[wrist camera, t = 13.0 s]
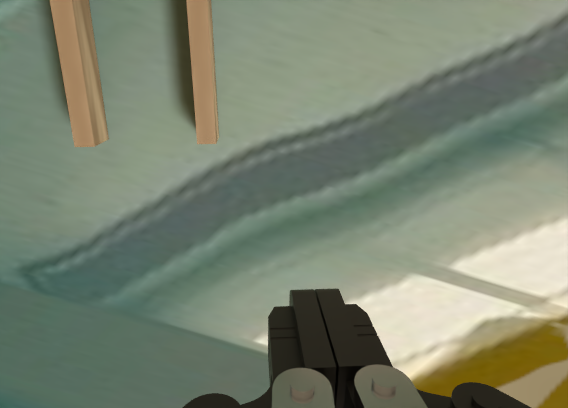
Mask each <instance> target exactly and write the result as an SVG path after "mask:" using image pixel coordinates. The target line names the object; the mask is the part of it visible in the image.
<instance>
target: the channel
mask: <svg viewBox="0 0 568 408" xmlns="http://www.w3.org/2000/svg"><path fill="white" fill-rule="evenodd" d="M186 1H187V15H188V28H189V41H190V54H191V67H192V80H193V94H194V107H195V120H196V133H197V144H216V143H217V140H218V138H219V128H218V111H217V94H216V77H215V60H214V43H213V26H212V9H211V0H186ZM50 5H51V11H52V16H53V22H54V28H55V34H56V40H57V46H58V52H59V57H60V63H61V69H62V75H63V81H64V87H65V92H66V98H67V104H68V110H69V116H70V122H71V127H72V133H73V139H74V145H75V147H95V146H97V145H98V144H100V143H102V142H104V141H106V140H108V139H109V137H108V131H107V124H106V117H105V110H104V103H103V96H102V89H101V82H100V75H99V68H98V61H97V54H96V47H95V40H94V33H93V26H92V20H91V13H90V6H89V0H50Z"/></svg>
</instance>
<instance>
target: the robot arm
mask: <svg viewBox="0 0 568 408" xmlns="http://www.w3.org/2000/svg"><path fill="white" fill-rule="evenodd" d="M268 362H269V378H270V388H269V389H268V390H267V392H266V393H265V394H263V395H262V396H261V397H259V398H258V399H256V400H254V401H251V402H248V403H245V404H242V405H240V404H239V403H238V402H237V401H236V400H235V399H233V398H232V397H230V396H228V395H224V394H218V393H212V394H206V395H202V396H199V397H197V398H195V399H193V400H192V401H190V402H189V403H188V404H186V405H185V406H184V407H183V408H531V407H529V406H527V405H525V404H523V403H521V402H520V401H518V400H516V399H514V398H512V397H510V396H509V395H507V394H504V393H503V392H501V391H499V390H497V389H495V388H493V387H491V386H488V385H485V384H481V383H473V382H469V383H463V384H460V385H458V386H457V387H455V389H454V390H453V392H452V396H451V397H446V396H441V395H436V394H431V393H427V392H423V391H420V390H418V389H416V388H415V386H414V385H413V383H412V382H411V380H410V379H409V378H408V377H407V376H406V375H405V374H404V373H403V372H401V371H399V370H398V369H395V368H393V366H392V364H391V362H390V360H389V358H388V356H387V354H386V352H385V350H384V348H383V345H382V343H381V341H380V339H379V337H378V336H377V333H376V331H375V329H374V327H373V326H372V322H371V320H370V318H369V316H368V314H367V313H366V312H365V311H364V310H362V309H361V308H360V307H359V306H358V305H356V304H345V303H344V301H343V298H342V296H341V293H340V291H339V289H315V290H313V289H311V290H290V305H289V306H283V307H274V308H273V310H272V312H271V313H270V315H269V317H268Z"/></svg>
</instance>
